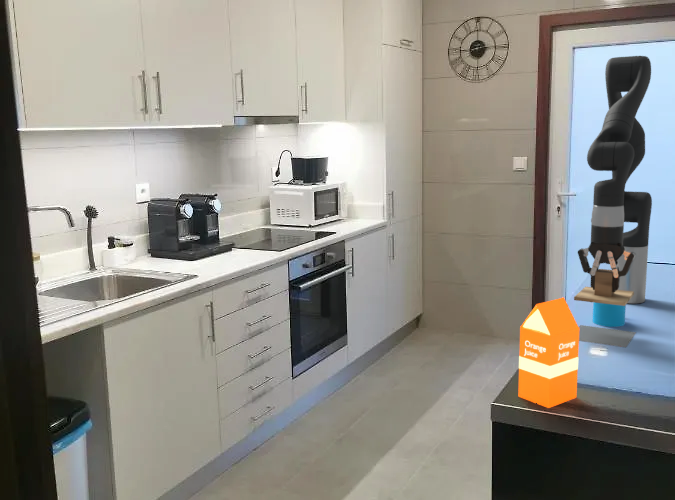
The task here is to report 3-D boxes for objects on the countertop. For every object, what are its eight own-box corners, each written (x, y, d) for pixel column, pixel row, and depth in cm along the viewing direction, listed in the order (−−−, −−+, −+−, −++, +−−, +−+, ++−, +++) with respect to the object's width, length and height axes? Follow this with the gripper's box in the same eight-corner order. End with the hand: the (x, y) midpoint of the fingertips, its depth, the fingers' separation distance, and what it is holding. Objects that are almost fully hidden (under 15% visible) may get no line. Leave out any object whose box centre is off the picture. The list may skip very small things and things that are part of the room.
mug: (620, 330, 185) (622, 300, 183) (589, 325, 189) (590, 296, 188) (630, 319, 194) (632, 290, 193) (600, 315, 199) (601, 287, 197)
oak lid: (585, 289, 185) (586, 264, 184) (633, 294, 179) (635, 268, 177) (573, 300, 175) (574, 273, 174) (624, 305, 169) (626, 278, 168)
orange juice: (577, 397, 140) (581, 300, 137) (548, 408, 135) (552, 308, 132) (545, 386, 147) (548, 293, 143) (517, 396, 142) (519, 300, 138)
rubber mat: (580, 326, 188) (580, 325, 188) (636, 333, 181) (636, 332, 181) (566, 340, 177) (567, 338, 176) (625, 348, 169) (626, 347, 169)
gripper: (641, 222, 173) (637, 290, 176) (581, 219, 180) (579, 284, 183) (635, 227, 167) (631, 297, 170) (574, 223, 174) (571, 290, 177)
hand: (604, 290), depth 177 cm, fingers closed on oak lid, 4 cm apart
